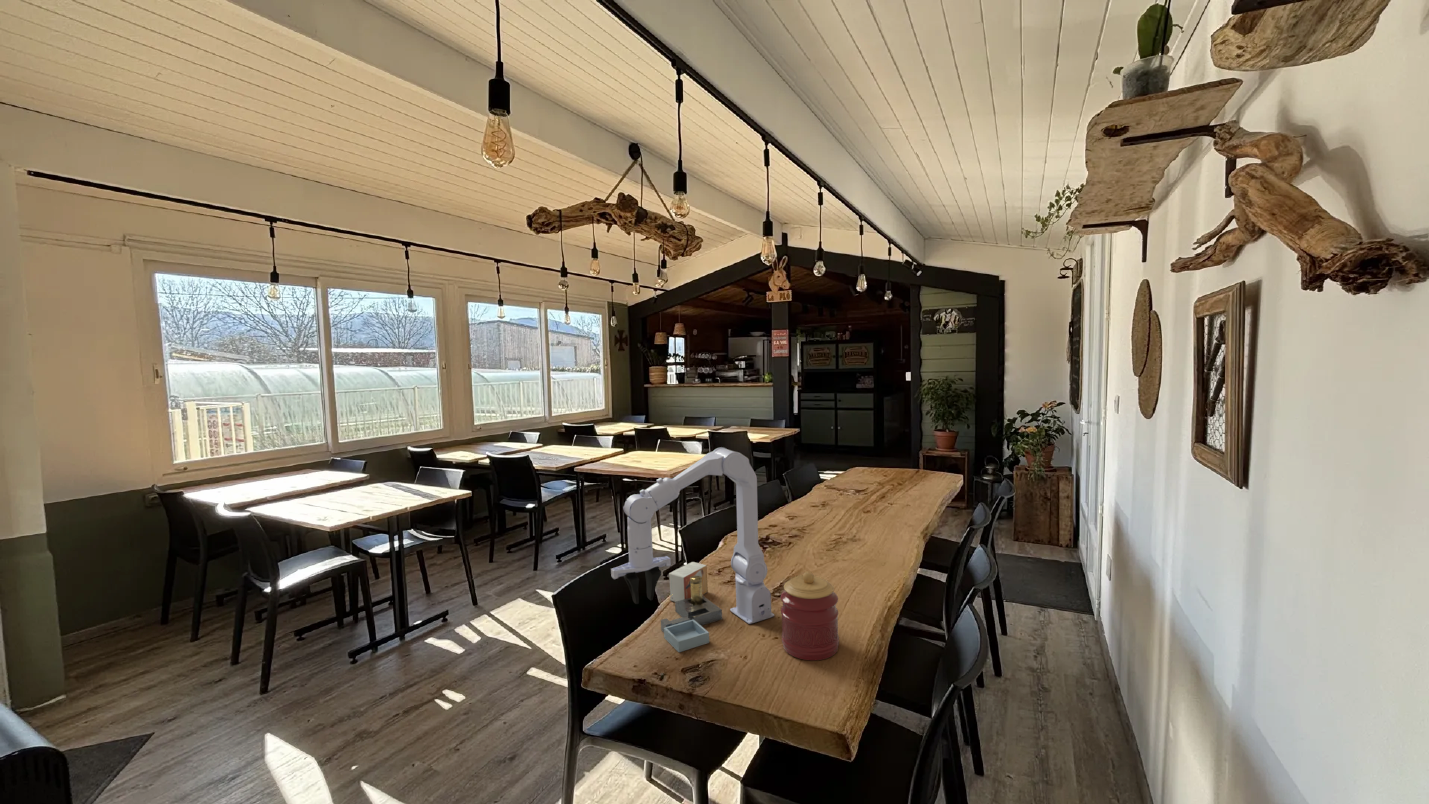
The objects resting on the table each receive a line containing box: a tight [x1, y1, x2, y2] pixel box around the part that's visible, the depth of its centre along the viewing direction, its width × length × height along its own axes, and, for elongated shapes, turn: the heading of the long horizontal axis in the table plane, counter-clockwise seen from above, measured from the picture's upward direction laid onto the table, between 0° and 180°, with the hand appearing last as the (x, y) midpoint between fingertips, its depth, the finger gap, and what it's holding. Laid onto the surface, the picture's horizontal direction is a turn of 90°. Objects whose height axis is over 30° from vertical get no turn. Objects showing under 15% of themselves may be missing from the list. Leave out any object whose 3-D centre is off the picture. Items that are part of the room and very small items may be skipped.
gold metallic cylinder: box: [690, 576, 703, 606], centre depth 148 cm, size 3×3×9 cm
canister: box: [780, 571, 840, 661], centre depth 127 cm, size 13×13×18 cm
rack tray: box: [663, 619, 710, 653], centre depth 133 cm, size 8×8×2 cm
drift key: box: [660, 616, 690, 633], centre depth 139 cm, size 3×7×3 cm, turn 120°
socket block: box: [674, 594, 723, 627], centre depth 146 cm, size 11×8×3 cm
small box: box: [668, 561, 709, 603], centre depth 158 cm, size 8×6×10 cm
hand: (643, 600), depth 134 cm, fingers open, 3 cm apart
